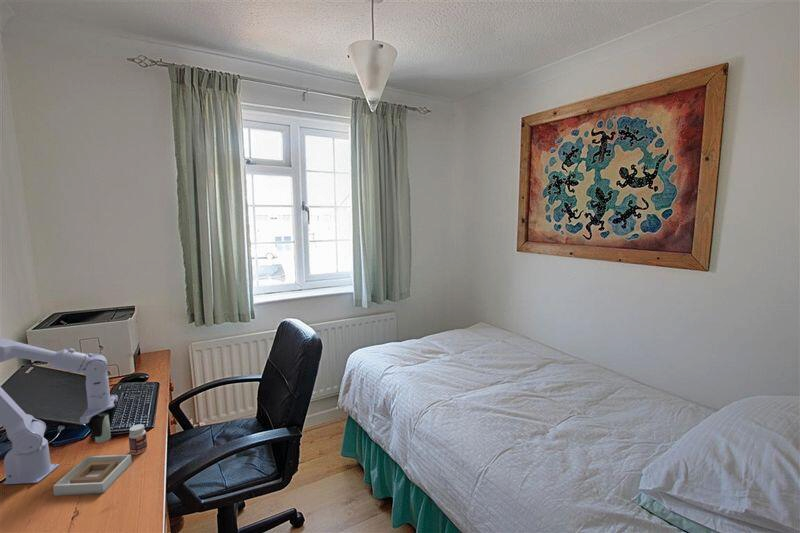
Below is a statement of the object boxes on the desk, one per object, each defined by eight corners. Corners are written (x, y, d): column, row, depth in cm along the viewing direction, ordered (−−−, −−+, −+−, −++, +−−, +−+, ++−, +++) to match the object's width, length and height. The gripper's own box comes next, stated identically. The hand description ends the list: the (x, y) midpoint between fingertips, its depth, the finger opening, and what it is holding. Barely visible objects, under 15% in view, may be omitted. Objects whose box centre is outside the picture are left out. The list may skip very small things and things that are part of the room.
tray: (54, 495, 106) (52, 486, 105) (87, 465, 119) (86, 456, 118) (103, 493, 107) (102, 483, 106) (131, 463, 120) (130, 454, 119)
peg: (92, 443, 121) (89, 419, 120) (100, 435, 125) (98, 413, 124) (105, 442, 122) (103, 419, 120) (113, 435, 126) (111, 413, 124)
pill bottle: (138, 456, 123) (136, 432, 122) (126, 454, 124) (124, 430, 123) (151, 447, 128) (148, 424, 127) (139, 445, 129) (137, 422, 128)
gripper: (95, 403, 114) (100, 445, 116) (125, 382, 129) (129, 419, 131) (70, 404, 114) (75, 446, 116) (103, 382, 128) (107, 420, 130)
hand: (102, 432), depth 123 cm, fingers closed on peg, 4 cm apart
